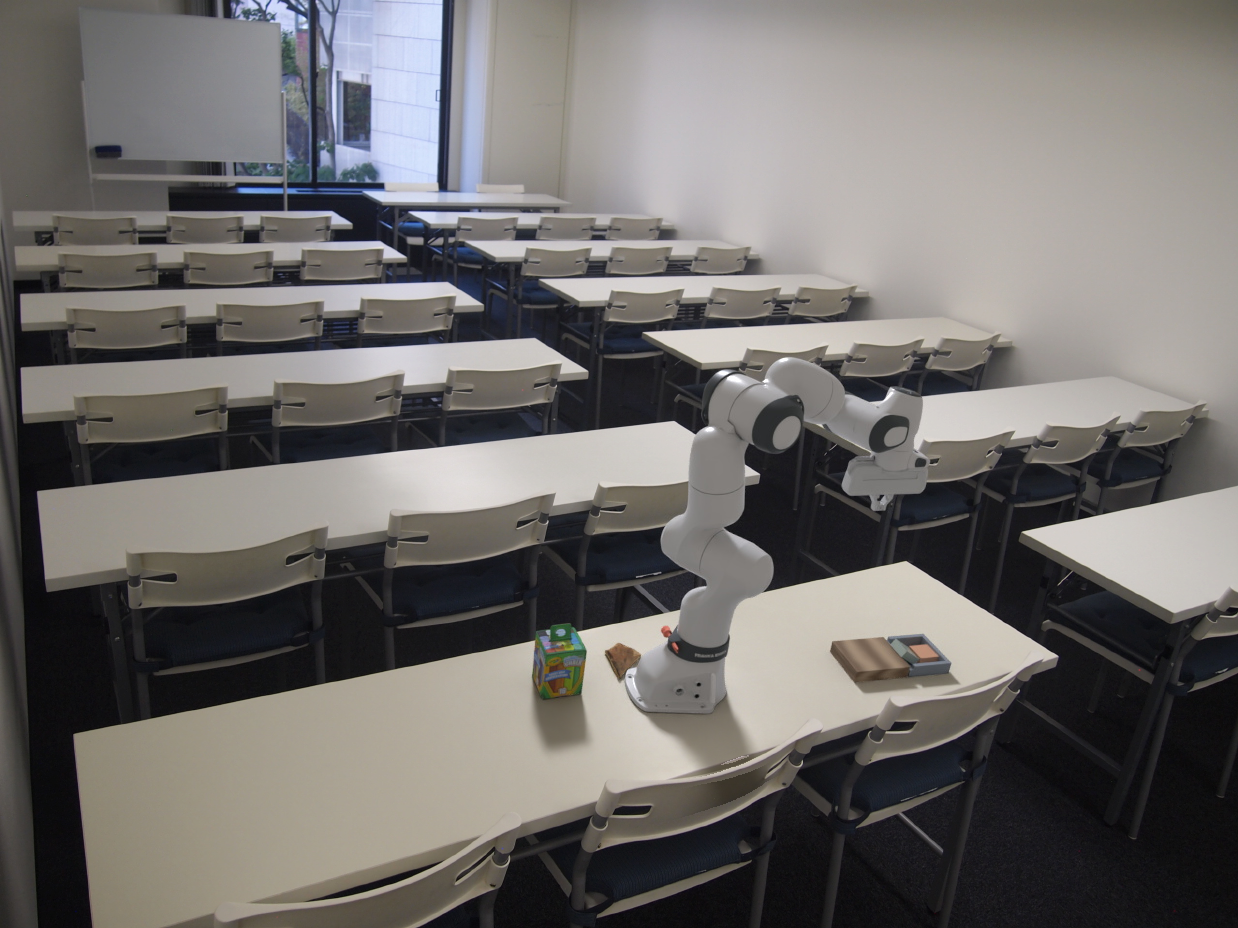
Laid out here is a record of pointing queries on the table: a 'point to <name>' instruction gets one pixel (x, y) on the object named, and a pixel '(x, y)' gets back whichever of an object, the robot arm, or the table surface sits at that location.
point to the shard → (621, 658)
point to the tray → (923, 668)
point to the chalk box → (559, 661)
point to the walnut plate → (869, 659)
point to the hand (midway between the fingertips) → (877, 509)
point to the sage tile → (904, 651)
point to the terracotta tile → (924, 653)
